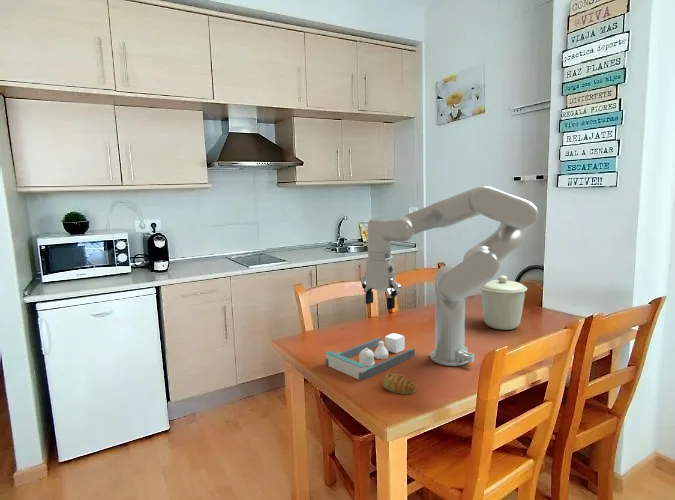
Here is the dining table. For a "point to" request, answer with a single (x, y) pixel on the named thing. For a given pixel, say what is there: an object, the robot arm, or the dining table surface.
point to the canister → (502, 303)
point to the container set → (383, 349)
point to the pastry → (398, 384)
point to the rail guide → (359, 370)
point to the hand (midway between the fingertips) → (379, 305)
